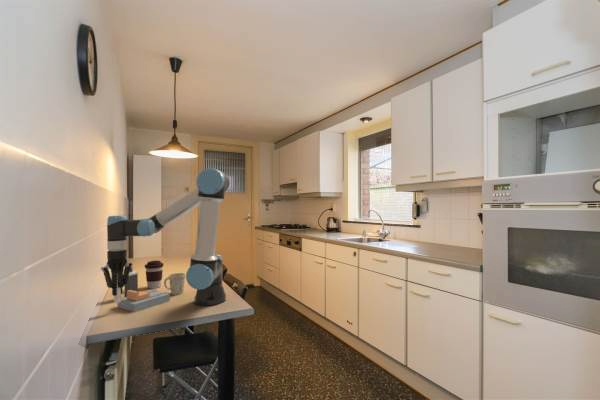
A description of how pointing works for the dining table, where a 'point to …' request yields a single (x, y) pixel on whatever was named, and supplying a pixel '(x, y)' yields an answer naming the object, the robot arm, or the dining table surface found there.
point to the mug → (176, 283)
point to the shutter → (137, 295)
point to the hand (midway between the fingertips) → (117, 301)
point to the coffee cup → (154, 274)
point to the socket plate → (144, 301)
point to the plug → (132, 281)
